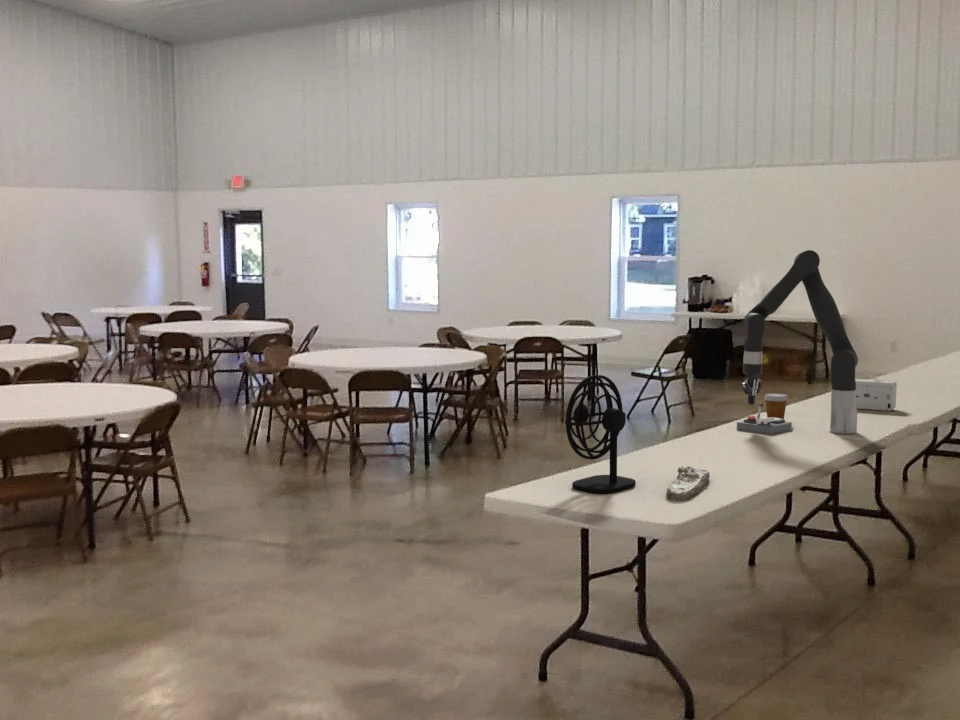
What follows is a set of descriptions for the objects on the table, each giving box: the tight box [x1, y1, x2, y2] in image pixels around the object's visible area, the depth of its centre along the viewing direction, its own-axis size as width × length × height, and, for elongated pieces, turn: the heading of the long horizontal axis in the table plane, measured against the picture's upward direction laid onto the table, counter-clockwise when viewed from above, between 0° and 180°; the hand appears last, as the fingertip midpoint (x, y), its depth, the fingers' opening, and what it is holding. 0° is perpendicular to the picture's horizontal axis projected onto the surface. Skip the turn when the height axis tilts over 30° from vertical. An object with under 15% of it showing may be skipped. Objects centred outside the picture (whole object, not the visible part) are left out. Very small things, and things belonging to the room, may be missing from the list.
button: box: [747, 414, 756, 420], centre depth 416 cm, size 3×3×1 cm
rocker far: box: [756, 417, 775, 424], centre depth 410 cm, size 6×4×2 cm, turn 43°
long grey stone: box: [665, 466, 711, 502], centre depth 318 cm, size 35×5×10 cm
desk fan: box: [564, 374, 637, 494], centre depth 319 cm, size 27×18×35 cm, turn 134°
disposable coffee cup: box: [764, 392, 789, 420], centre depth 430 cm, size 10×10×12 cm
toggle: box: [756, 402, 764, 419], centre depth 423 cm, size 2×2×7 cm
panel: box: [736, 417, 793, 435], centre depth 415 cm, size 16×15×4 cm
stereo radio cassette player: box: [855, 367, 898, 412], centre depth 463 cm, size 21×8×20 cm, turn 58°
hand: (751, 404), depth 415 cm, fingers closed
